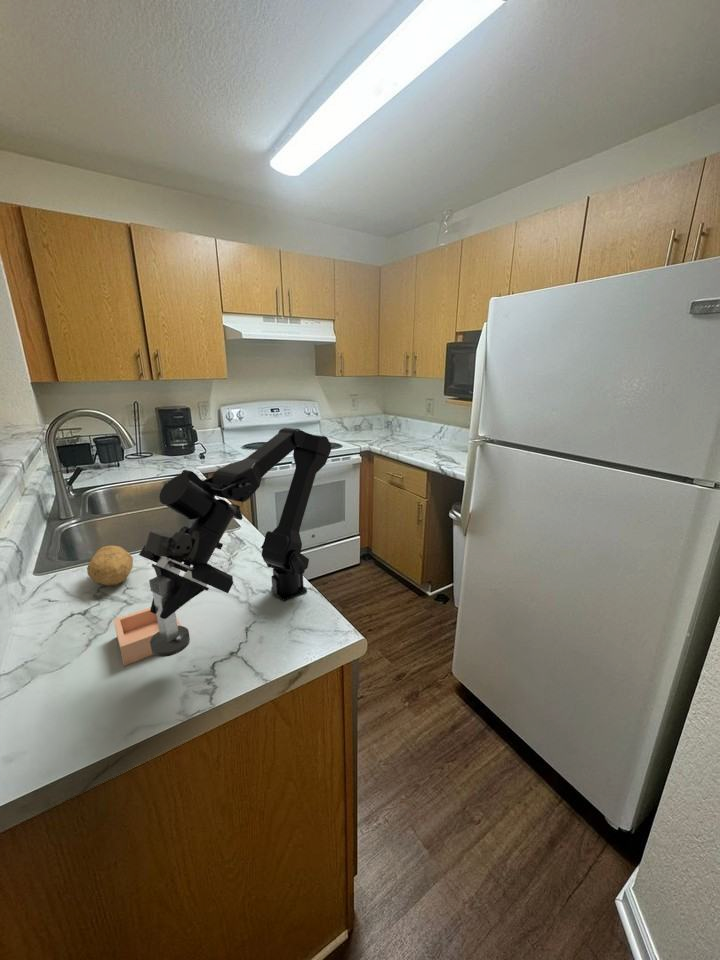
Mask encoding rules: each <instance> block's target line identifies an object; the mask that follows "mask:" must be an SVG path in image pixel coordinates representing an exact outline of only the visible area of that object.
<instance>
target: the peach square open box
mask: <svg viewBox="0 0 720 960" xmlns="http://www.w3.org/2000/svg"><path fill="white" fill-rule="evenodd" d="M150 609H151V606H150V607H147V608H144V609H142V610H138V611H135V612H132V613H129V614H126V615H122V616H120V617H117V618H114V619H113V623H114V629H115V634H116V638H117V642H118V647H119V651H120V654H121V660H122V663H123V666H124V667H125V666H128V665H130V664H133V663H135V662H137V661H141V660H142V659H145V658H148V657H151V656H153V655H154V654H153V653H152V651H151V645H150V640H151V638H152V637H153V636H154V635H155V634H156V633H157V632H159V627H158V621H157V615H156V614H154V613H151V612H150ZM176 620H177V626H182V625H181V624H180V621H179V618H178V617H177V616H176Z"/></svg>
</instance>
